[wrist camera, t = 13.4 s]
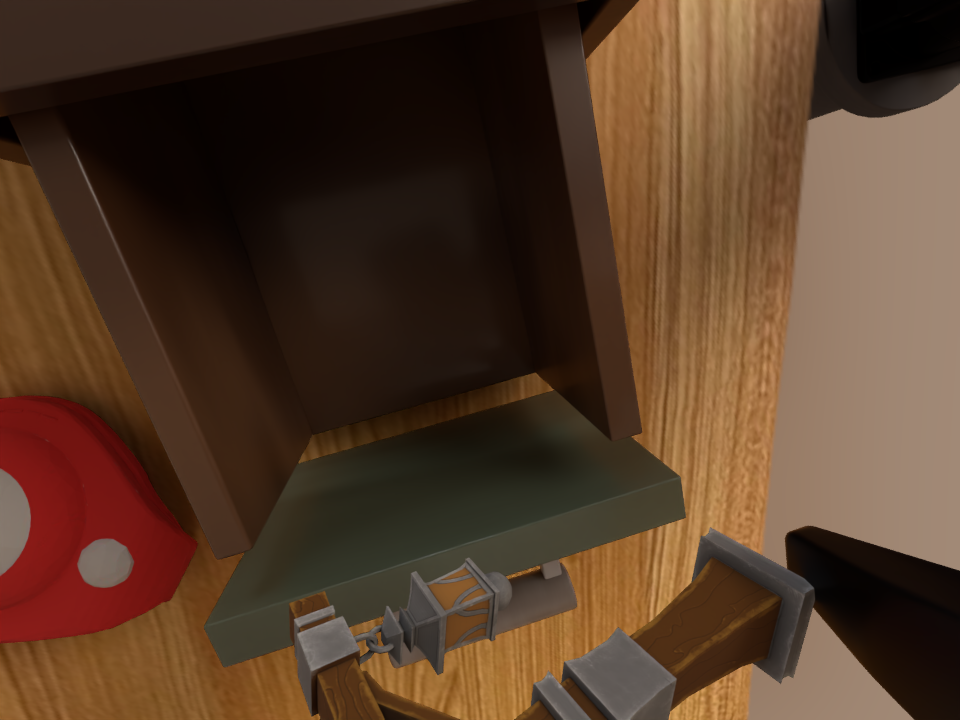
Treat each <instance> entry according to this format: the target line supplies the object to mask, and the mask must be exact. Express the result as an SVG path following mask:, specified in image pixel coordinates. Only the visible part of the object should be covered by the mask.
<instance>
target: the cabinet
mask: <svg viewBox="0 0 960 720" xmlns="http://www.w3.org/2000/svg"><path fill="white" fill-rule="evenodd" d="M638 1H639V0H0V159H3V160H8V161H12V162H16V163H20V164H24V165H28V166H31V164H30V162H29V160H28V158H27V155H26V153H25V151H24V149H23V147H22V145H21V143H20V141H19V138H18V136H17V134H16V132H15V130H14V128H13V126H12V124H11V121H10V119H9V117H8V115H12V114H17V113H22V112H27V111H32V110H37V109H43V108H48V107H53V106H58V105H63V104H68V103H73V102H78V101H83V100H88V99H93V98H98V97H103V96H108V95H113V94H118V93H123V92H128V91H133V90H138V89H143V88H148V87H153V86H159V85H164V84H169V83H174V82H179V81H184V80H189V79H194V78H199V77H204V76H209V75H214V74H219V73H224V72H229V71H234V70H239V69H244V68H249V67H254V66H259V65H264V64H269V63H274V62H280V61H285V60H290V59H295V58H300V57H305V56H310V55H315V54H320V53H325V52H330V51H335V50H340V49H345V48H350V47H355V46H360V45H365V44H370V43H375V42H380V41H385V40H390V39H396V38H401V37H406V36H411V35H416V34H421V33H426V32H431V31H436V30H441V29H446V28H451V27H456V26H461V25H466V24H471V23H476V22H481V21H486V20H491V19H496V18H501V17H506V16H511V15H517V14H522V13H527V12H532V11H537V10H542V9H547V8H552V7H557V6H562V5H567V4H572V3H577V9H578V15H579V22H580V28H581V35H582V41H583V48H584V55H585V60H586V59H587V58H588V57H589V55H590V54H591V53H592V52H593V51H594V50H595V49H596V48H597V47H598V46H599V44H600V43H601V42H602V41H603V40H604V39H605V38H606V37H607V36H608V34H609V33H610V32H611V31H612V30H613V29H614V28H615V27H616V26H617V25H618V23H619V22H620V21H621V20H622V19H623V18H624V17H625V16H626V15H627V13H628V12H629V11H630V10H631V9H632V8H633V7H634V6H635V5H636V3H637V2H638Z"/></svg>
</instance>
